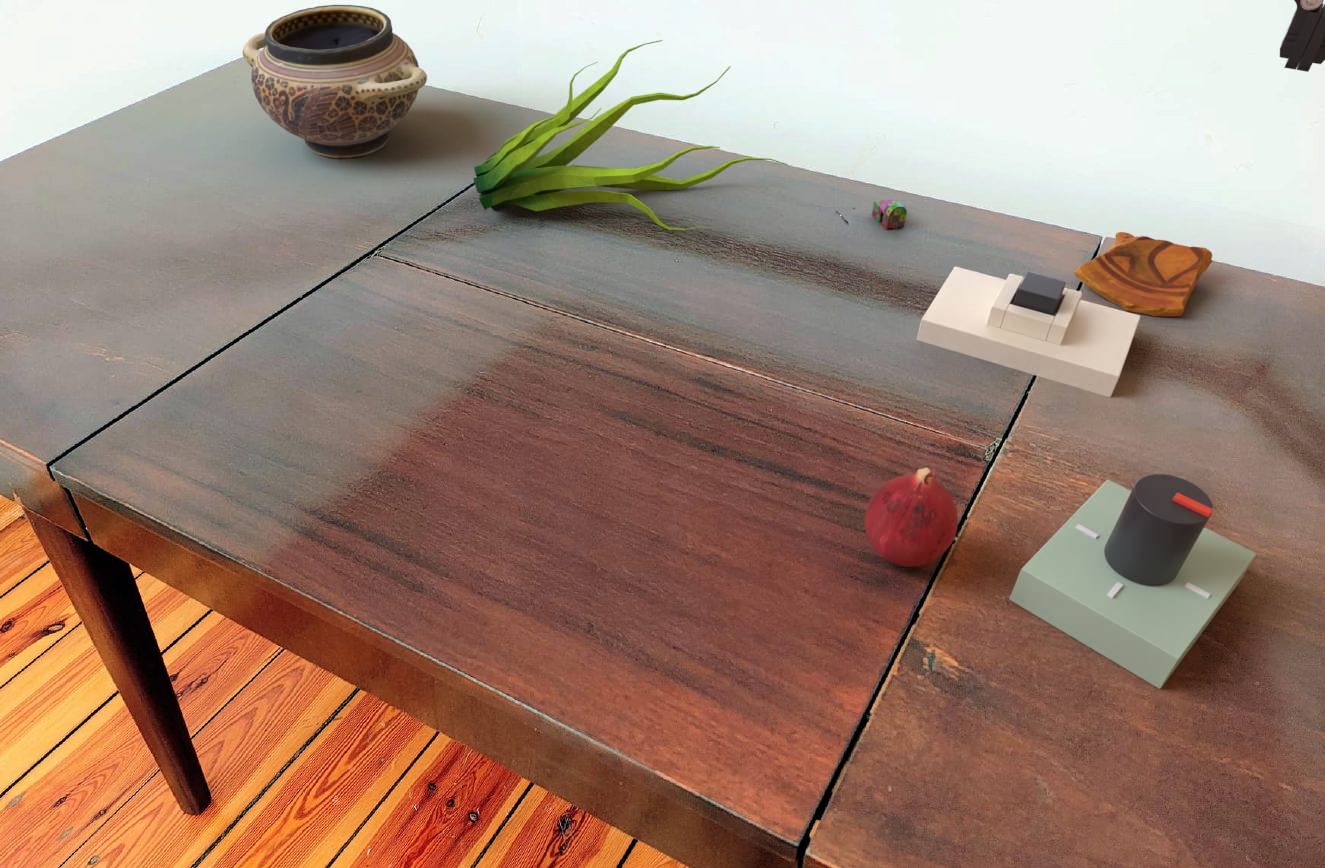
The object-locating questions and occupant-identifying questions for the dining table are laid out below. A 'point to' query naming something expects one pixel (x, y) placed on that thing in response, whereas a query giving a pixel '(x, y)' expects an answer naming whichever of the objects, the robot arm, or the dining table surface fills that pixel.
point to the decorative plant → (536, 179)
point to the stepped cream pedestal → (1030, 331)
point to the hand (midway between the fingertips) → (1296, 65)
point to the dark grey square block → (1039, 293)
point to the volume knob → (1157, 529)
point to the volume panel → (1127, 591)
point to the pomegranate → (911, 519)
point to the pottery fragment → (1146, 274)
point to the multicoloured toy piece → (889, 213)
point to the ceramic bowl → (334, 77)
